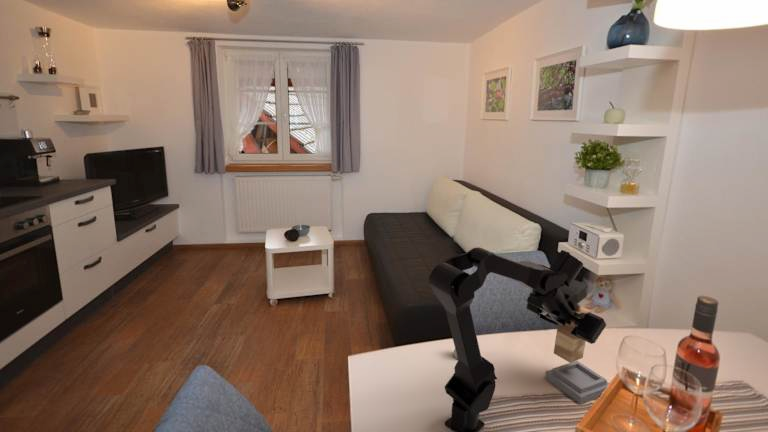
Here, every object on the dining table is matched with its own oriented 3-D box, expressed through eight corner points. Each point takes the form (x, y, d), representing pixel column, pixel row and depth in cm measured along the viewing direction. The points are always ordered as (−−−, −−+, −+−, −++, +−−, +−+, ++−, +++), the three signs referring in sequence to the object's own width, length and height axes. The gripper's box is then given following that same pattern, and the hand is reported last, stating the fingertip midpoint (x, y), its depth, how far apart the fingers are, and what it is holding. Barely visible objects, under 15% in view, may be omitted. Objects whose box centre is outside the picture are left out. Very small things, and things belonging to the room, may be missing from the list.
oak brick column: (570, 363, 106) (578, 311, 102) (553, 353, 110) (560, 302, 106) (582, 357, 108) (591, 306, 105) (565, 348, 112) (573, 299, 109)
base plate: (580, 404, 101) (582, 392, 100) (545, 378, 110) (546, 367, 110) (611, 392, 105) (613, 381, 105) (574, 368, 115) (576, 357, 114)
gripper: (608, 287, 93) (627, 321, 102) (539, 260, 109) (561, 292, 117) (581, 327, 91) (603, 359, 100) (514, 294, 107) (538, 324, 115)
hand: (575, 330), depth 108 cm, fingers closed on oak brick column, 5 cm apart
